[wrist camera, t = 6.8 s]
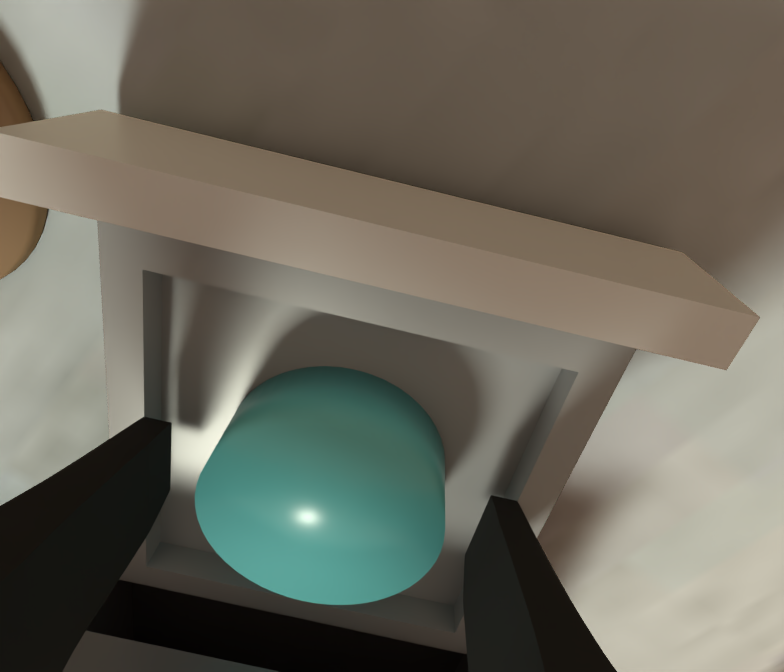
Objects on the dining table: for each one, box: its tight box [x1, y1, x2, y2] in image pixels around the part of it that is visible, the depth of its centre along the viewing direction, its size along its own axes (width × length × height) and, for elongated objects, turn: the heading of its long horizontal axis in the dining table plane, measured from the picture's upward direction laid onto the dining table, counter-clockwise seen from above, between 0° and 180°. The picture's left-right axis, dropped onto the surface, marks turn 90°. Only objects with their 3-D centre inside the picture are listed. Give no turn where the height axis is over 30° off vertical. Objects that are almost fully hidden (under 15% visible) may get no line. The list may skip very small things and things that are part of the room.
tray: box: [0, 110, 760, 654], centre depth 12 cm, size 12×12×3 cm
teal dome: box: [195, 366, 445, 605], centre depth 12 cm, size 5×5×2 cm
